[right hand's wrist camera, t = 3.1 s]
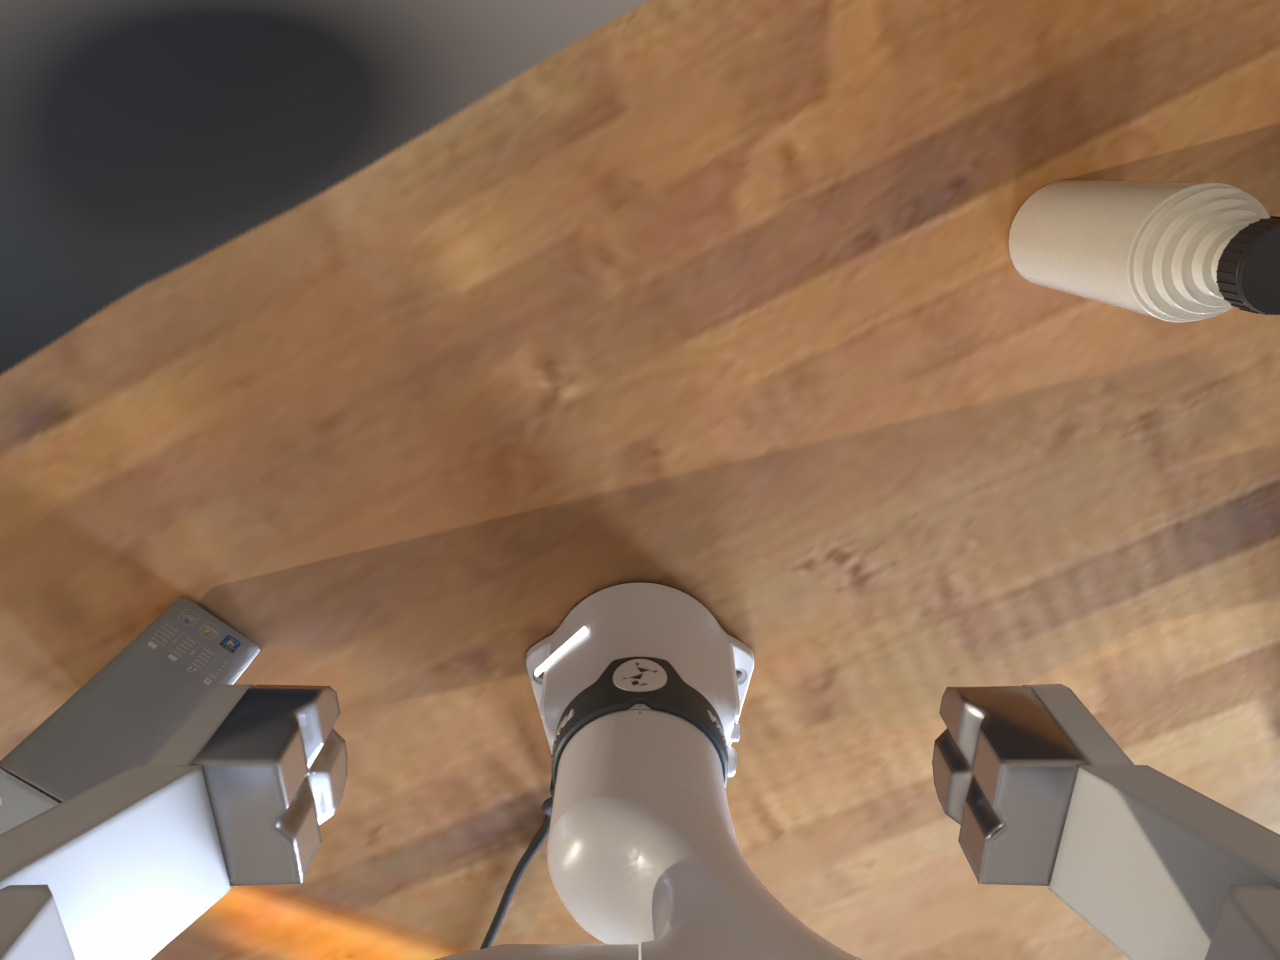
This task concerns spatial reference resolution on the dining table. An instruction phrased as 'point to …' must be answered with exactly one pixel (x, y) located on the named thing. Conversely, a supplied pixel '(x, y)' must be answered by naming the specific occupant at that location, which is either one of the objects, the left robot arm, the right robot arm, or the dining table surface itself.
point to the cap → (1252, 268)
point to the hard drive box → (122, 711)
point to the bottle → (1133, 242)
